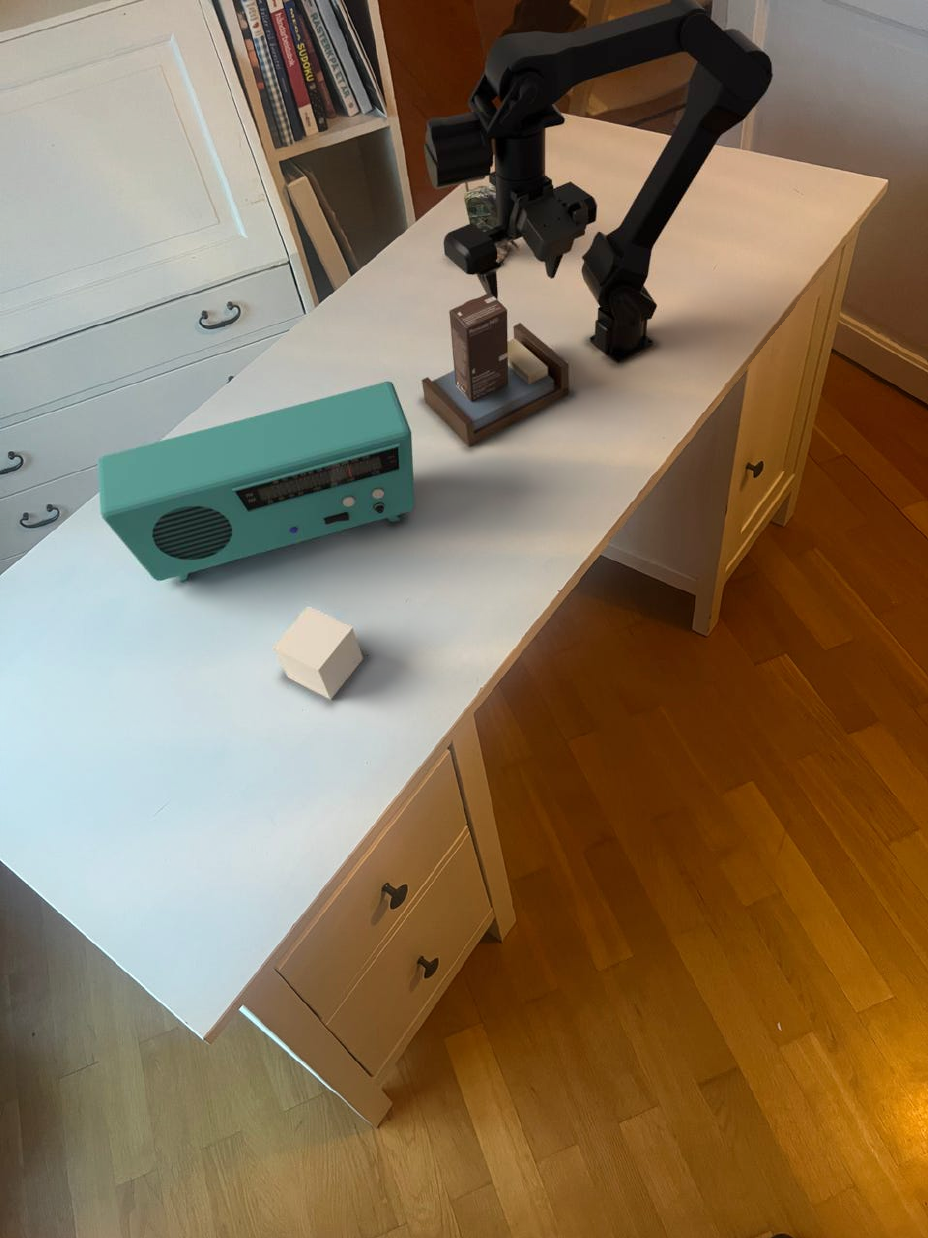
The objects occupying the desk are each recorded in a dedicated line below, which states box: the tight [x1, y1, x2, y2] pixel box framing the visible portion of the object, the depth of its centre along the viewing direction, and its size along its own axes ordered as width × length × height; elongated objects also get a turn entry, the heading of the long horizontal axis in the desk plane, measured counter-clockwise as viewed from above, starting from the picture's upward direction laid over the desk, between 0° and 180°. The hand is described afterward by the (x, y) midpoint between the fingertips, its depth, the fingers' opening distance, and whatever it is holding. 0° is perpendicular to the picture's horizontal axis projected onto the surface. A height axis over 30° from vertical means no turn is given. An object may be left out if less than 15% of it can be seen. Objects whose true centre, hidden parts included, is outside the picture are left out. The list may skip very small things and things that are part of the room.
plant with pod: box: [463, 182, 521, 264], centre depth 130 cm, size 8×11×20 cm
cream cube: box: [272, 605, 364, 701], centre depth 94 cm, size 6×6×6 cm
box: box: [448, 293, 509, 402], centre depth 111 cm, size 6×4×12 cm
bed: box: [421, 322, 570, 448], centre depth 117 cm, size 16×11×5 cm
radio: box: [97, 381, 415, 582], centre depth 103 cm, size 34×10×15 cm, turn 105°
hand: (522, 289), depth 112 cm, fingers open, 8 cm apart
